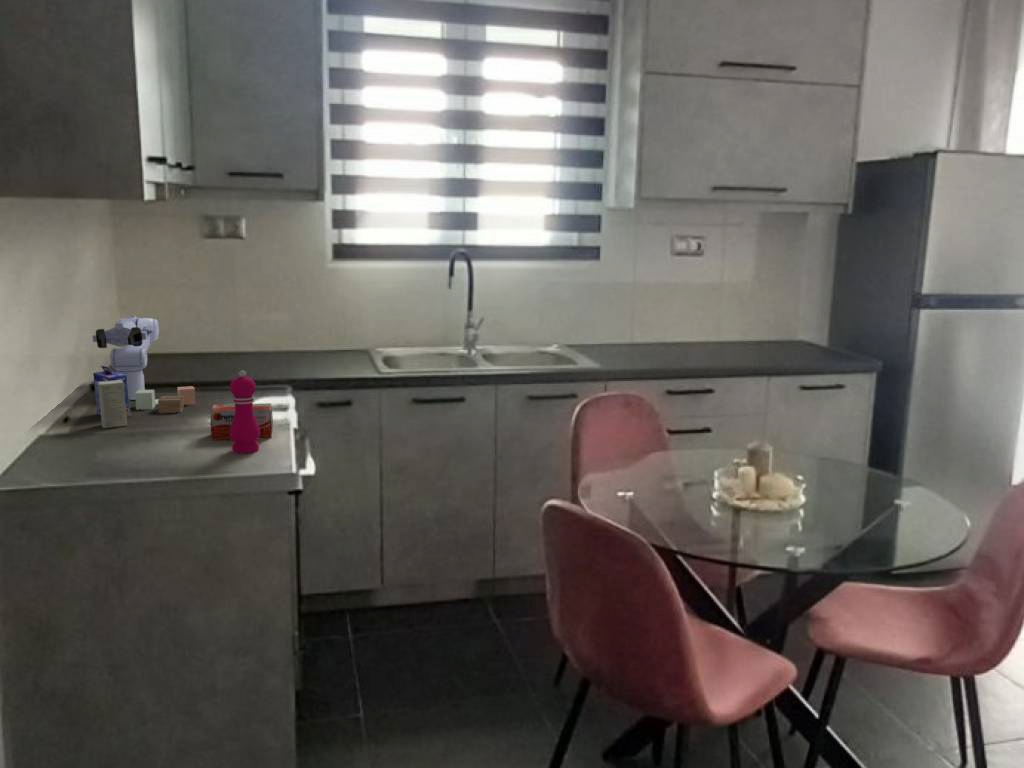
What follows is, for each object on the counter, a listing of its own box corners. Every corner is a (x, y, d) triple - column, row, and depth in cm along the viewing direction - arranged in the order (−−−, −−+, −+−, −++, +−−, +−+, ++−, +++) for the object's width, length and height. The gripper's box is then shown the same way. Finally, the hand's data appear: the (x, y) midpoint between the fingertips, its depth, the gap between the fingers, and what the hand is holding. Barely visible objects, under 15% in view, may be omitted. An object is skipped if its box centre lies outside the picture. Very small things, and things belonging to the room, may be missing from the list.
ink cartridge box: (95, 414, 248) (91, 364, 245) (114, 411, 252) (110, 362, 250) (112, 419, 242) (108, 368, 239) (131, 416, 246) (127, 366, 243)
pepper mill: (224, 450, 213) (220, 370, 209) (250, 444, 218) (247, 366, 215) (240, 455, 208) (237, 374, 205) (266, 450, 214) (263, 370, 210)
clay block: (178, 403, 265) (177, 387, 264) (193, 402, 267) (192, 386, 266) (180, 406, 261) (179, 389, 260) (195, 404, 263) (194, 388, 262)
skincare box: (125, 422, 239) (122, 379, 237) (127, 426, 235) (124, 382, 233) (100, 425, 236) (97, 381, 234) (102, 428, 232) (98, 384, 230)
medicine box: (273, 431, 233) (272, 402, 232) (272, 438, 225) (271, 409, 224) (214, 433, 230) (212, 404, 228) (211, 441, 222) (209, 411, 220)
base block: (162, 409, 257) (161, 396, 256) (183, 408, 258) (183, 395, 257) (158, 413, 251) (157, 400, 250) (180, 413, 252) (179, 399, 251)
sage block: (139, 406, 259) (138, 390, 258) (155, 406, 260) (154, 389, 259) (136, 409, 255) (135, 393, 254) (152, 409, 256) (151, 392, 255)
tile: (144, 400, 267) (143, 398, 267) (168, 399, 269) (167, 398, 268) (139, 405, 260) (139, 403, 260) (164, 404, 262) (163, 403, 262)
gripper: (95, 321, 258) (85, 329, 245) (147, 319, 261) (140, 327, 249) (98, 344, 260) (88, 354, 247) (150, 341, 263) (143, 351, 250)
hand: (114, 342), depth 248 cm, fingers open, 7 cm apart
